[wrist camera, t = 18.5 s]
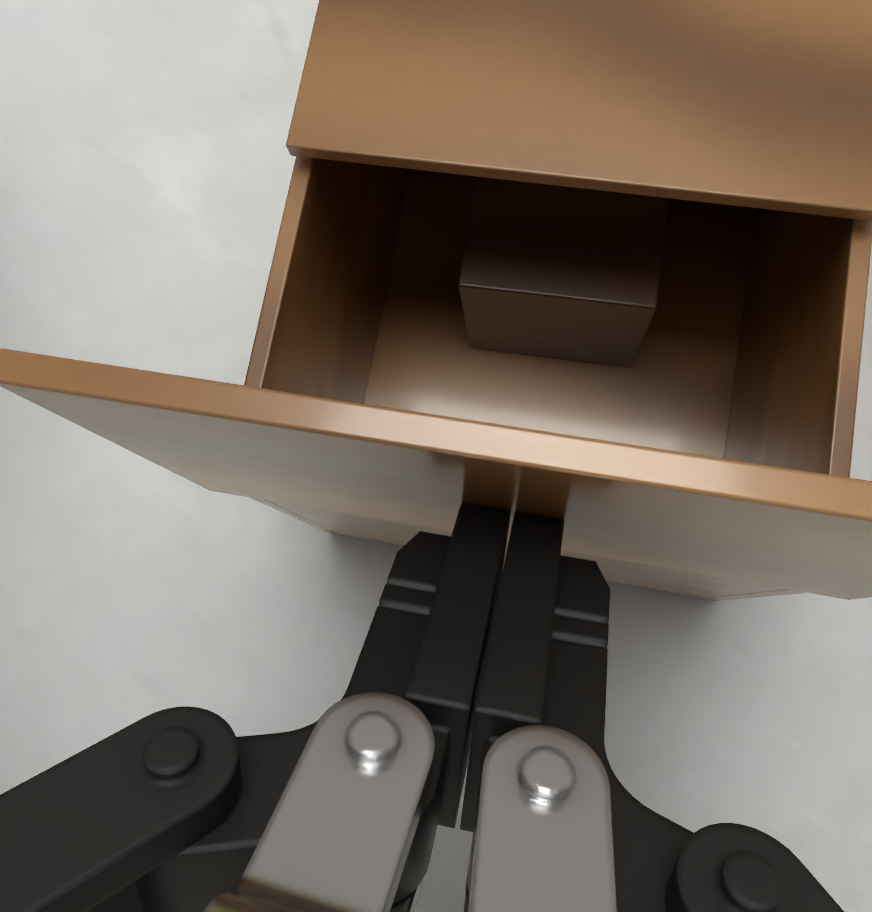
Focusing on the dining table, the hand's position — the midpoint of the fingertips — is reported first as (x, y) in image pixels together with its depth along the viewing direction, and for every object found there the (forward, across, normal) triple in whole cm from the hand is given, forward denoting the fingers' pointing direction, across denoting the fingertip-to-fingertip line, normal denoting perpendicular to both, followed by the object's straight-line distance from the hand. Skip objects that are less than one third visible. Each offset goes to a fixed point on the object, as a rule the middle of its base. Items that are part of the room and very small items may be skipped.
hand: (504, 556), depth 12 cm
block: (+12, 0, +2) cm, 12 cm away
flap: (0, 0, -1) cm, 1 cm away
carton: (+14, 0, +4) cm, 15 cm away
